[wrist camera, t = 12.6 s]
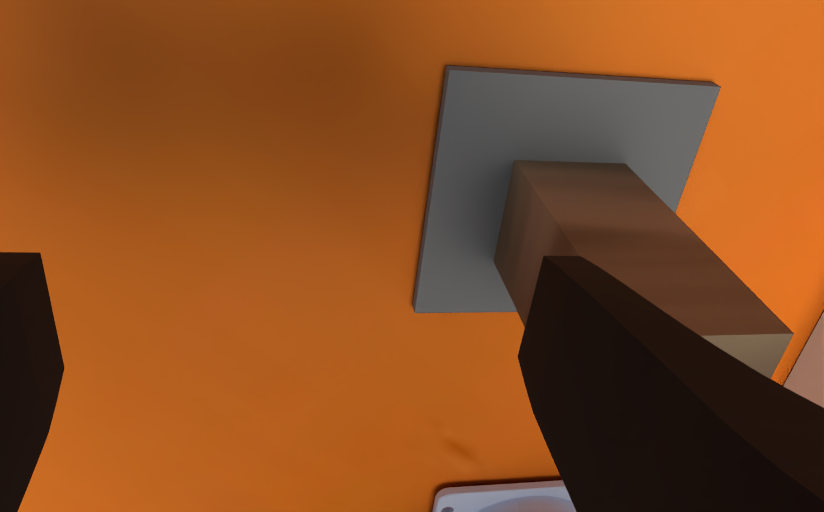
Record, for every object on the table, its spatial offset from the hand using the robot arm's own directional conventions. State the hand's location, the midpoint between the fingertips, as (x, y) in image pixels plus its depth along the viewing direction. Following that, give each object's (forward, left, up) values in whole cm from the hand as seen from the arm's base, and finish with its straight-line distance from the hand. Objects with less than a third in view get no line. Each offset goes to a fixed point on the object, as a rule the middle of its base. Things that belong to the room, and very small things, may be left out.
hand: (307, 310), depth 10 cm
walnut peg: (-3, -8, -9) cm, 12 cm away
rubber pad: (-3, -8, -9) cm, 13 cm away
